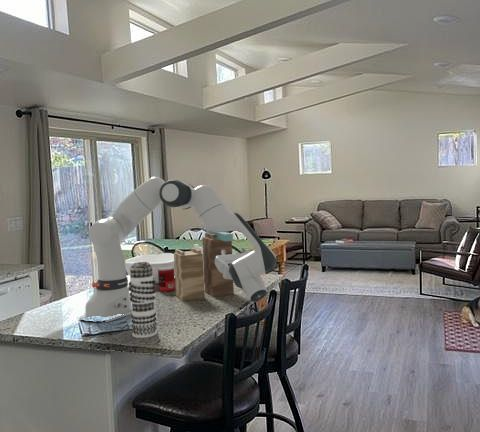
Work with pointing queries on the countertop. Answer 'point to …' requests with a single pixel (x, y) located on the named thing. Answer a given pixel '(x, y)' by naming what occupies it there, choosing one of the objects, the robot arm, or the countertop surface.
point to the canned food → (166, 279)
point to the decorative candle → (142, 300)
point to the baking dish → (153, 262)
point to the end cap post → (212, 276)
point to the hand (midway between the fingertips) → (233, 250)
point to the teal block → (222, 235)
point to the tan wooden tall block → (189, 274)
